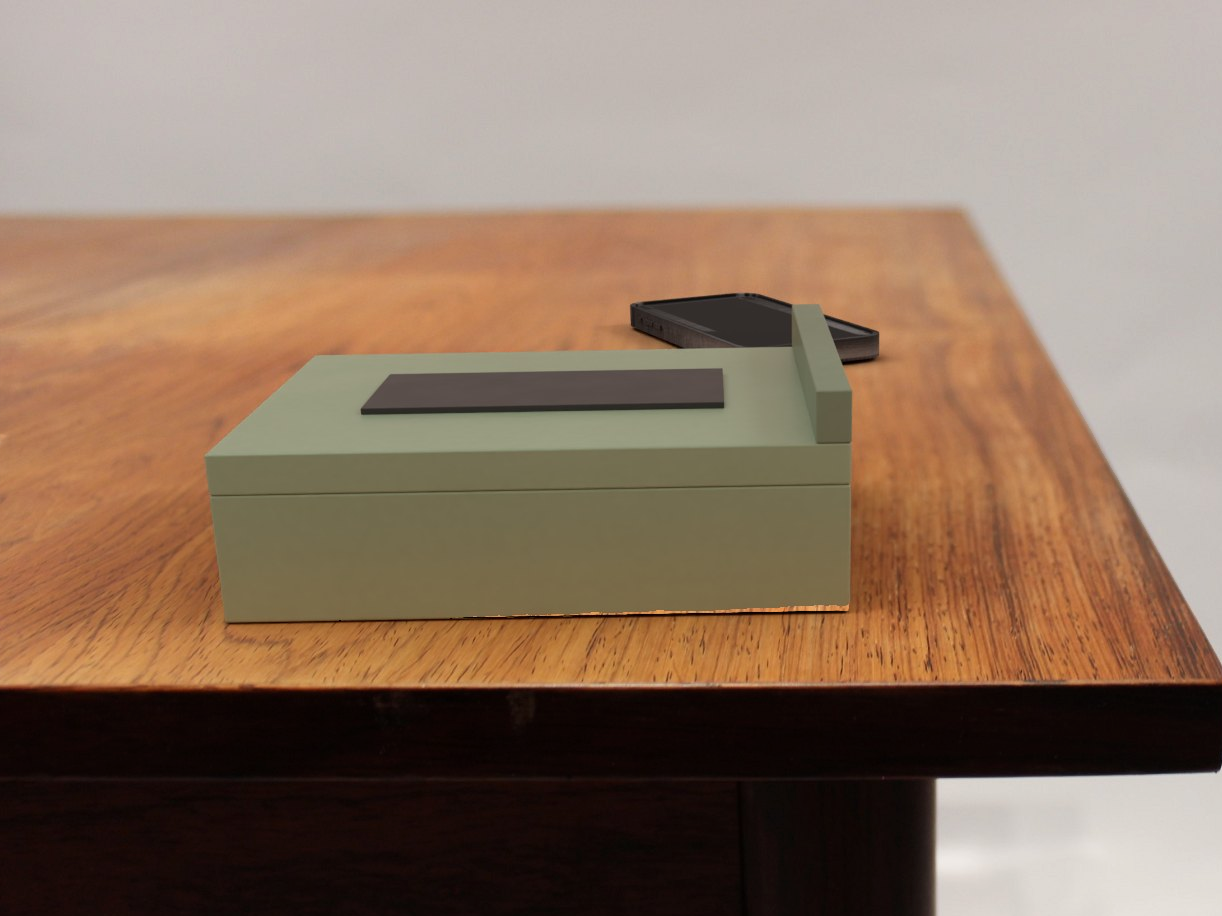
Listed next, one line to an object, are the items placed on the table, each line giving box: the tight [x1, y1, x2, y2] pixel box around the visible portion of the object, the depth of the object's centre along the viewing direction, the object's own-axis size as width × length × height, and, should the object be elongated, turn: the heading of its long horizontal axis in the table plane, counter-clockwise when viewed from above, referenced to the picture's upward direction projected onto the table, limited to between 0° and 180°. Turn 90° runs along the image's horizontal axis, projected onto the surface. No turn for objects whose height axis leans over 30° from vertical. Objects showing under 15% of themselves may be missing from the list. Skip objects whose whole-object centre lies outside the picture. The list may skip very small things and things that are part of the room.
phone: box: [629, 292, 880, 363], centre depth 86 cm, size 8×1×15 cm
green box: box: [204, 303, 853, 624], centre depth 54 cm, size 18×14×6 cm
